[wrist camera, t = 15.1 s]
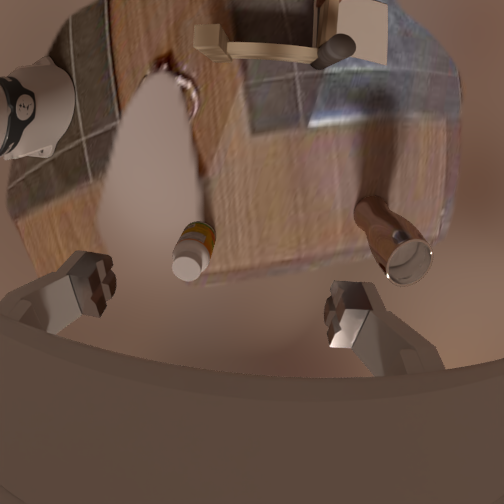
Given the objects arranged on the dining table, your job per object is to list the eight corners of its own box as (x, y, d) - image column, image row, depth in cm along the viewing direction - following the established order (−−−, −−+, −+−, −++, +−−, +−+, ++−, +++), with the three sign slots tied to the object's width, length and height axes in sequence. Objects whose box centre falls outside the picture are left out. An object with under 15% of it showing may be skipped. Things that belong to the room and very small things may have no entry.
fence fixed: (214, 63, 32) (193, 47, 21) (215, 46, 30) (194, 24, 19) (327, 71, 32) (355, 59, 21) (328, 54, 30) (356, 36, 19)
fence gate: (329, 52, 30) (356, 34, 19) (311, 48, 30) (332, 28, 19) (334, -3, 25) (359, -35, 14) (317, -7, 25) (336, -41, 14)
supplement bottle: (211, 254, 47) (201, 290, 38) (180, 244, 46) (164, 279, 38) (220, 226, 44) (210, 258, 36) (187, 216, 43) (170, 246, 35)
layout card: (312, 49, 30) (312, 49, 30) (314, -13, 25) (314, -13, 24) (386, 65, 30) (386, 65, 30) (386, 5, 25) (387, 4, 24)
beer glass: (355, 189, 40) (394, 235, 27) (394, 195, 40) (442, 240, 27) (347, 230, 44) (377, 287, 31) (384, 234, 44) (423, 288, 31)
